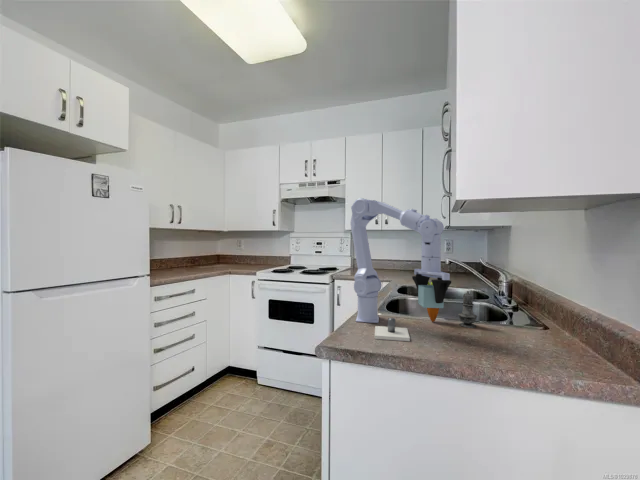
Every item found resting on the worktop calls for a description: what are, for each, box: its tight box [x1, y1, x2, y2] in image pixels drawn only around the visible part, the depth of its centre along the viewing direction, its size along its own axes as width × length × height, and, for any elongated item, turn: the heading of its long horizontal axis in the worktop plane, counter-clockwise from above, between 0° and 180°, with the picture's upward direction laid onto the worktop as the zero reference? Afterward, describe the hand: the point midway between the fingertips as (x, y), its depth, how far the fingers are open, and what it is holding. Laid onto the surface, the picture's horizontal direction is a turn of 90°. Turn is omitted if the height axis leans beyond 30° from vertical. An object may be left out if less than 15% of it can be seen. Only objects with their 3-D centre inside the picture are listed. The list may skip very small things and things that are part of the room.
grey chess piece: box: [458, 290, 478, 329], centre depth 104 cm, size 6×6×12 cm
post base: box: [374, 317, 411, 342], centre depth 93 cm, size 10×10×5 cm
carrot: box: [426, 281, 440, 323], centre depth 108 cm, size 5×5×15 cm
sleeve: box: [417, 284, 445, 309], centre depth 95 cm, size 6×6×6 cm
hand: (430, 300), depth 95 cm, fingers closed on sleeve, 7 cm apart
